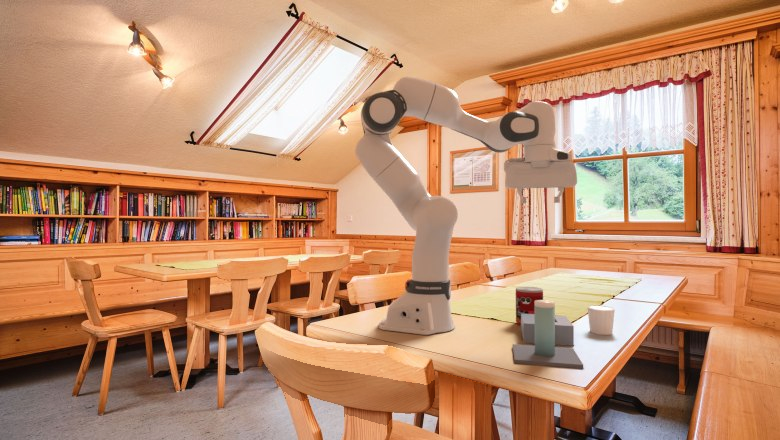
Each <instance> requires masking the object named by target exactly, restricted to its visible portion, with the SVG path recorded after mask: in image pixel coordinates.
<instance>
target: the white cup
mask: <svg viewBox="0 0 780 440" xmlns="http://www.w3.org/2000/svg"><path fill="white" fill-rule="evenodd" d="M615 310H616V309H615V308H614V307H610V306H606V305H605V306H604V305H590V306H589V305H588V306H587V313H588V314H587V315H588V323H589V331H590V333H592V334H596V335H601V336H603V335H604V336H609V335H610V336H611V335H612V334H613V333H614V332H613V329H614V321H615V320H614V319H615Z"/></svg>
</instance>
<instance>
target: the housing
mask: <svg viewBox="0 0 780 440" xmlns="http://www.w3.org/2000/svg"><path fill="white" fill-rule="evenodd" d="M520 332H521V336H522V340H523V341H522V342H523V343H525V344H535V314H521V325H520ZM574 335H575V333H574V325H573V324H572V322H571V321H570V320H569V318H568V317H567V316H566V315H559V314H558V315H557V314H555V346H569V347H571V346H572V347H574V345H575V344H574V341H575V339H574Z"/></svg>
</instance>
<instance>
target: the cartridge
mask: <svg viewBox="0 0 780 440" xmlns="http://www.w3.org/2000/svg"><path fill="white" fill-rule="evenodd" d="M555 304H556V302H555V301H553V300H548V299H547V300H546V299H543V300H535V301H534V305H535V343H534V346H535V354H537V355H540V356H546V357H551V356H554V355H555V347H556V345H555V315H556V312H555V309H556V307H555V306H556V305H555Z"/></svg>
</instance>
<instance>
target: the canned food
mask: <svg viewBox="0 0 780 440" xmlns="http://www.w3.org/2000/svg"><path fill="white" fill-rule="evenodd" d="M535 300H544V289H543V288H541V287H538V286H517V287H515V322H516V324H517V325H518V326H521V314H535V305H534V301H535Z"/></svg>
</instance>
